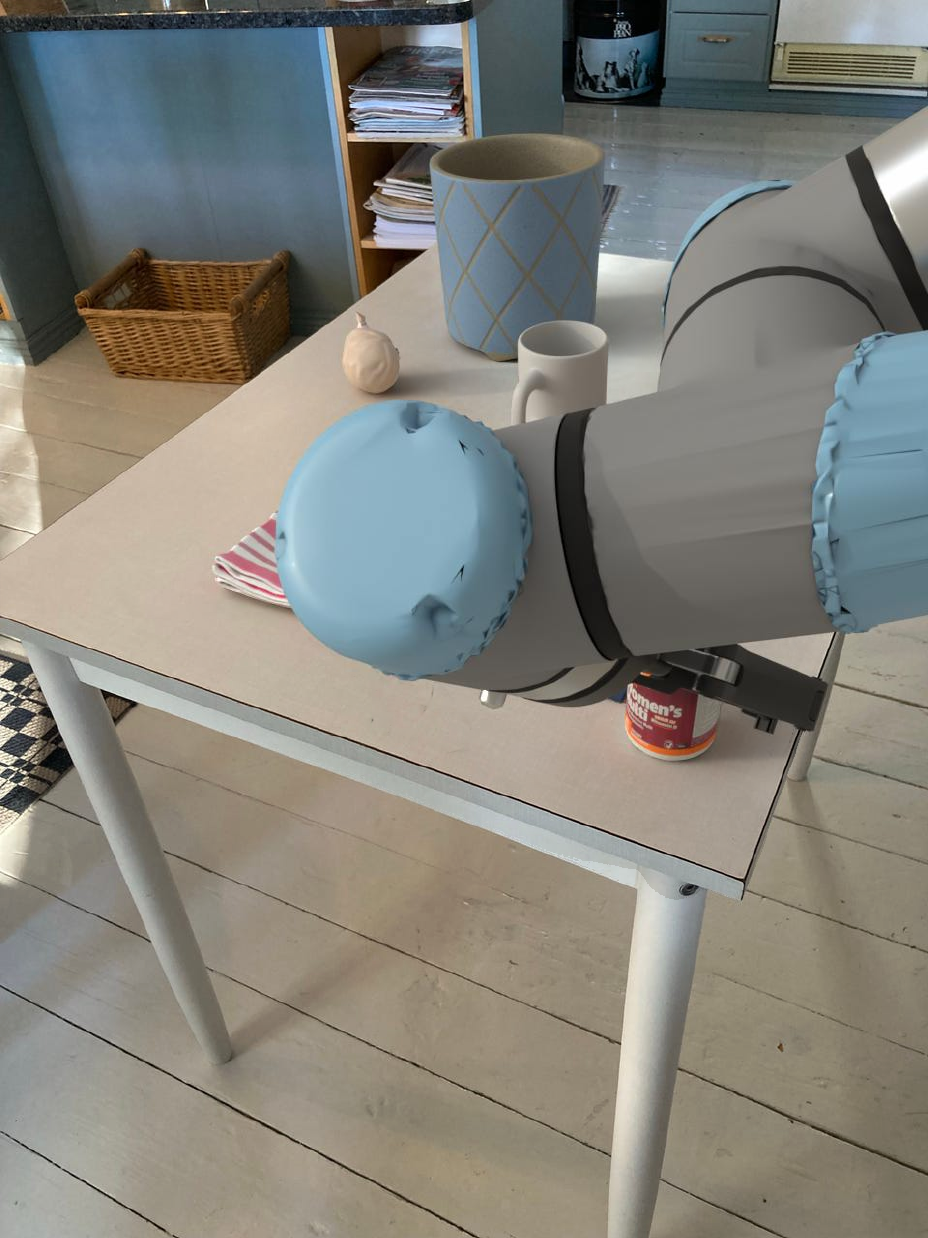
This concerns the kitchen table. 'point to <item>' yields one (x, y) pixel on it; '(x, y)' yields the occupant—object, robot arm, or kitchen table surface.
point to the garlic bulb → (370, 358)
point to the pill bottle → (670, 722)
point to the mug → (560, 370)
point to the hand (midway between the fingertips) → (657, 663)
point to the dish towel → (253, 566)
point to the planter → (517, 235)
